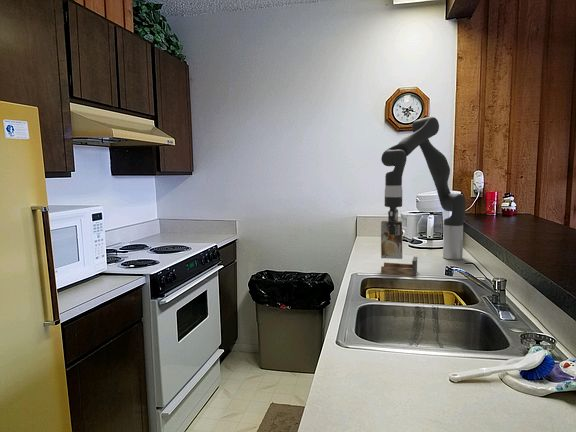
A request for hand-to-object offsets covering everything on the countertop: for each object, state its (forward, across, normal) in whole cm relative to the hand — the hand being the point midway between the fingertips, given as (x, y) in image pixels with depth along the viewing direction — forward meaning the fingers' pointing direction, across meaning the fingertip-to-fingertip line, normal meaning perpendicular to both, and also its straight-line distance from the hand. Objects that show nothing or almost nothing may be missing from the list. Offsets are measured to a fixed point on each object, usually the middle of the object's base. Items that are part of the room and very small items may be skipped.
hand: (392, 233), depth 178 cm
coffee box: (+11, 0, 0) cm, 11 cm away
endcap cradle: (+17, 0, -3) cm, 18 cm away
